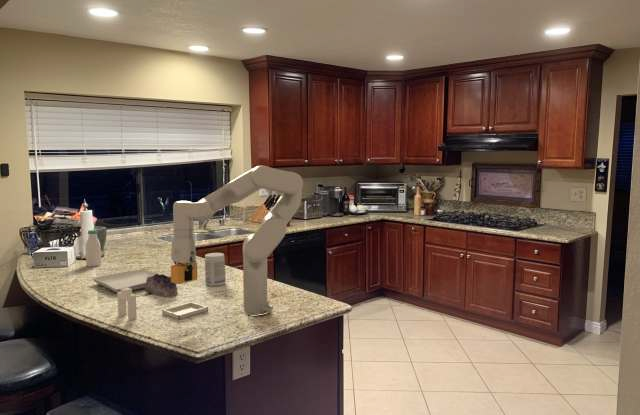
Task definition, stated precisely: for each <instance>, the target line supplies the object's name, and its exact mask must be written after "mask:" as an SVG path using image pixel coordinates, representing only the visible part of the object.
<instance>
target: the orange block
mask: <svg viewBox="0 0 640 415" xmlns="http://www.w3.org/2000/svg"><path fill="white" fill-rule="evenodd" d="M189 265H190V264H188V266H189ZM185 271H186V269H185V264H177V265H175V264H173V265H170V277H171V282H172V283H175V284H176V285H182V284H185V283H189V282H194V281H197V280H198V264H197V265H195V266H194V268H193V270H192V280H190V281H185Z"/></svg>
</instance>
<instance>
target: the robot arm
mask: <svg viewBox="0 0 640 415" xmlns="http://www.w3.org/2000/svg"><path fill="white" fill-rule="evenodd" d="M303 186H304V181H303V178H302V175H300V174H299V173H296V172H293V171H288V170H283V169H278V168H274V167H270V166H266V165H261V164H260V165H257V166H255V167H254V168H252V169H249V170H248V171H247V172H244V173H243V174H241V175H239V176H238V177H236V178H235V179H233V180H231V181H229V182H228V183H226V184H225V185H223V186H221V187H220V188H218V189H217V190H215V191H214V192H211V193H210V194H208V195H206V196H205V197H203V198H201V199H199V200H198V201H197V202H192V201H190V200H189V201H188V200H179V201H178V200H177V201H175V202H174V203H173V206H172V212H173V214H172V215H173V217H172V218H173V222H172V223H173V236H172V240H171V248H170V249H171V251H170V252H171V253H170V259H171V261H173V265H177V264H185V269H186V271H185V281H190V280H192V270H193V268H194V266H195V265H197V266H198V263H197V251H196V250H197V249H196V243H195V242H196V241H195V233H194V232H195V229H194V228H195V227H194V225H195V223H194V222H195V221H198V222H199V221H200V222H206V221H209V220H210V219H212V217H213V215H214V214H215V213H217V212H218V211H220V210H222V209H224V208H227V207H228V206H230V205H232V204H236V203H240V202H241V201H243V200H245V199H246V198H248V197H250V196H251V195H253V194H255V193H257V192H258V191H260V190H262V189H265V190H268V191H271V192H277V193H280V197H279V198H278V200H277V201H276V203H275V204H274V205H273V206H272V208H271V209H270V210H269V212H268V213H267V214H265V216H264V217H263V218H262V220H261V221H260V222H261V223H260V227H259V228H258V230H257V231H255V233H251V234H250V235H247V236H246V237H245V238H244V240H243V242H242V259H243V260H242V264H243V265H242V266H243V267H242V269H243V271H242V272H243V273H242V274H243V277H242V278H243V281H242V282H243V284H242V286H243V288H242V289H243V306H241V307H240V308H239V312H240V313H242V314H245V315H258V314H264V313H267V312H268V313H269V314H271V312H272V310H274V307H273V305H270V301H268V257H269V256H270V255H271V254H272V253H273V251H275V249H276V248H277V247H278V246H279V244H280V243H281V242H282V240H283V239H284V237H285V235H286V233H287V229H288V228H287V226H288V223H289V222H290V221H291V220H292V218H293V216H295V214H296V212H297V211H298V210H299V208H300V206H301V202H302V199H303V197H302V196H303V191H302V190H303ZM188 264H190V265H189V266H188ZM190 282H191V281H190Z"/></svg>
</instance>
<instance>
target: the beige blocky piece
mask: <svg viewBox="0 0 640 415" xmlns="http://www.w3.org/2000/svg"><path fill="white" fill-rule="evenodd" d="M116 295H117V296H116V298H117V315H118V317H123V316H127V320H128V321H133V320H137V319H138V318H137V317H138V316H137V295H136V294H134V293H133V291H132V289H130V288H124V289H121V292H116Z"/></svg>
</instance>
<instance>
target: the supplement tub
mask: <svg viewBox="0 0 640 415" xmlns="http://www.w3.org/2000/svg"><path fill="white" fill-rule="evenodd" d="M225 264H226V259H225V254H224V253H222V252H211V253H207V254H205V255H204V273H205V274H204V276H205V285H207V286H208V287H216V286H217V287H219V285H220V286H223V285H225V283H226V265H225Z"/></svg>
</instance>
